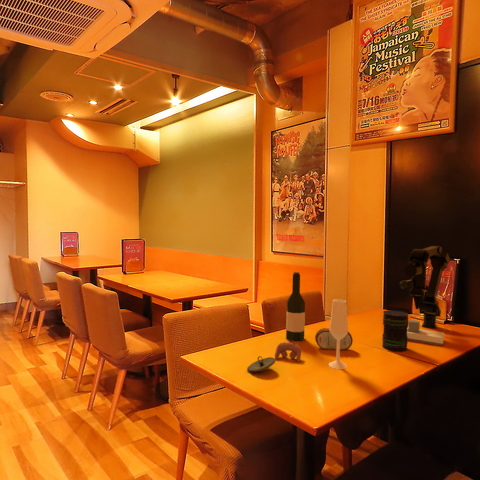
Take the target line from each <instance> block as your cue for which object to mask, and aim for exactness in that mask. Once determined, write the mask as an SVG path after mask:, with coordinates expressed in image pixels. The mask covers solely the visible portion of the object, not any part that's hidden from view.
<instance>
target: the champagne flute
mask: <svg viewBox="0 0 480 480" xmlns="http://www.w3.org/2000/svg"><path fill="white" fill-rule="evenodd" d="M347 310H348V308H347V300H345V299H341V298H340V299H332V304H331V313H330V321H329V322H330V323H329V331H330V333H331V335H332V336H333V337H334V338H335V339H337V350H335V351H336V353H335V354H336V355H335V356H336V358H335V360H334V361H331V362H329V363H328V366H329V368H332V369H335V370H336V369H337V370H344V369H347V368H348V365H347V364H345V363H344V362H343V361H341V360H340V359H341V358H340V357H341V356H340V355H341V350H340V340H341V339H342V338H344V337H345V336H346V335H347V333H348V332H349V326H348V325H349V324H348V323H349V322H348V311H347Z"/></svg>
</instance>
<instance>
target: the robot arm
mask: <svg viewBox="0 0 480 480" xmlns="http://www.w3.org/2000/svg"><path fill="white" fill-rule="evenodd" d="M429 261H430V265H431V267H432V269H431V273H430V277H429V283H428V285H427V280H428V279H427V266H428V262H429ZM450 261H451V259H450V256H449V253H448V252H447V251H445V250H444V249H443V248H442V246H440V245H430V246H428V247H424V248H422V249H421V248H413V250H412V251H411V252H410V255H409V258H408V261H407V263H408V265H406V266H405V268H404V274H405V275H406V277H408V278H409V277H410V278H411V279H408V280H406V279H404V280H401V281H400V282H399V286H400V288H401V290H404V289H407V288H410V289H409V291H408V292H409V293H408V294H409V296H410V297H411V298H413V302H414V306H415V309H416V310H419V311H418V312H419V314H422V315H423V323H422V325H421V327H423V328H429V329H437V327H438V324H437V318H438V317H441V312H442V310H441V308H440V305H439V303H440V302H439V301H438V298H437V297H438V296H437V295H438V292H439V289H440V285H441V284H440V282H441V279H442V274H443V271H445V270H446V269H447V268H448V265H449V264H450Z"/></svg>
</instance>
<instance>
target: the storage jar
mask: <svg viewBox="0 0 480 480" xmlns="http://www.w3.org/2000/svg"><path fill="white" fill-rule="evenodd" d="M382 324H383V325H382V326H383V330H382V331H383V333H382V345H381V346H382V349H384V350H385V351H386V350H387V351H391V352H394V353H396V352H397V353H403V352H406V351H408V341H409V340H408V337H407V328H409V313H408V312H406V311H402V310H395V309H394V310H393V309H388V310H384V311H383V317H382Z"/></svg>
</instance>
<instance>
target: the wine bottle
mask: <svg viewBox="0 0 480 480" xmlns="http://www.w3.org/2000/svg"><path fill="white" fill-rule="evenodd" d="M291 287H292V290H291V291H292V292H291V293H290V296H289V297H288V299H287V300H286V317H285V318H286V320H285V321H286V323H285V324H286V326H285V339H286V340H287V341H290V342H302V341H303V342H304V341H305V324H306V323H305V322H306V321H305V319H306V302H305V300H304V298H303V296H302V295H301V274H300V272H298V271H293V273H292V286H291Z"/></svg>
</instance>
